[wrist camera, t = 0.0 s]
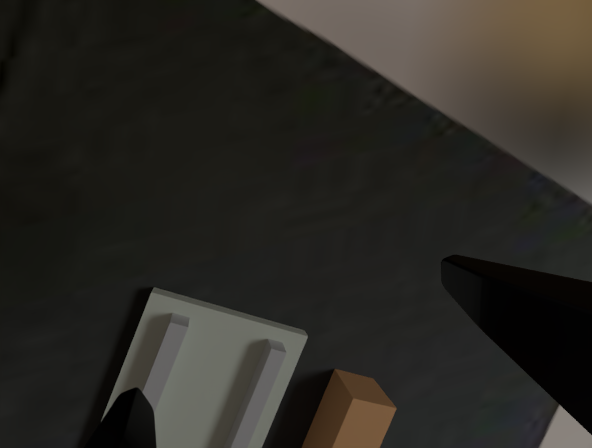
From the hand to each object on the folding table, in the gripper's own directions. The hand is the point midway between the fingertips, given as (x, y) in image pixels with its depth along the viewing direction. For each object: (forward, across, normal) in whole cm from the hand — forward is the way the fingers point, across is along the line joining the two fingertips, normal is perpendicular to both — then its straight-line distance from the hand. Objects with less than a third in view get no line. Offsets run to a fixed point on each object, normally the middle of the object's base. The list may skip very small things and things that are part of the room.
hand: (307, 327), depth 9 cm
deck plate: (+12, +7, +14) cm, 20 cm away
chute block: (+11, -2, +22) cm, 25 cm away
